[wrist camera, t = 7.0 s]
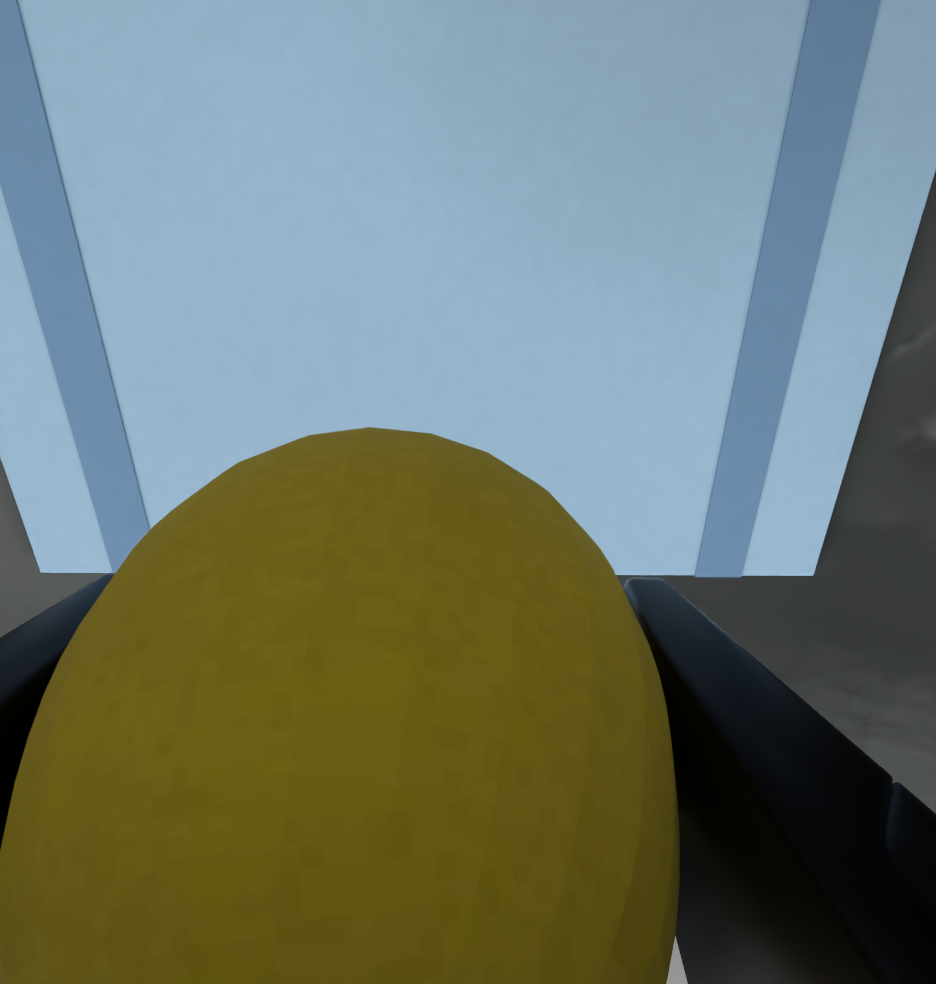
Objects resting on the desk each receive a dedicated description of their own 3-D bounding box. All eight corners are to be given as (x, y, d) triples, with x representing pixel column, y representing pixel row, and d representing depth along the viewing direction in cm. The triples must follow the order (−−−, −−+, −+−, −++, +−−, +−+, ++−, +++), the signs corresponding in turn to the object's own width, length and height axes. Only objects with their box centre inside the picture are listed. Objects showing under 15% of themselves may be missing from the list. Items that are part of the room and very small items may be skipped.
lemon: (423, 710, 13) (371, 1518, 6) (125, 524, 11) (-493, 1403, 4) (682, 502, 10) (1092, 1386, 4) (370, 223, 9) (-32, 978, 2)
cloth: (1005, -103, 13) (1022, -108, 12) (807, 567, 20) (814, 577, 19) (-185, -115, 13) (-207, -121, 12) (47, 564, 20) (39, 574, 19)
